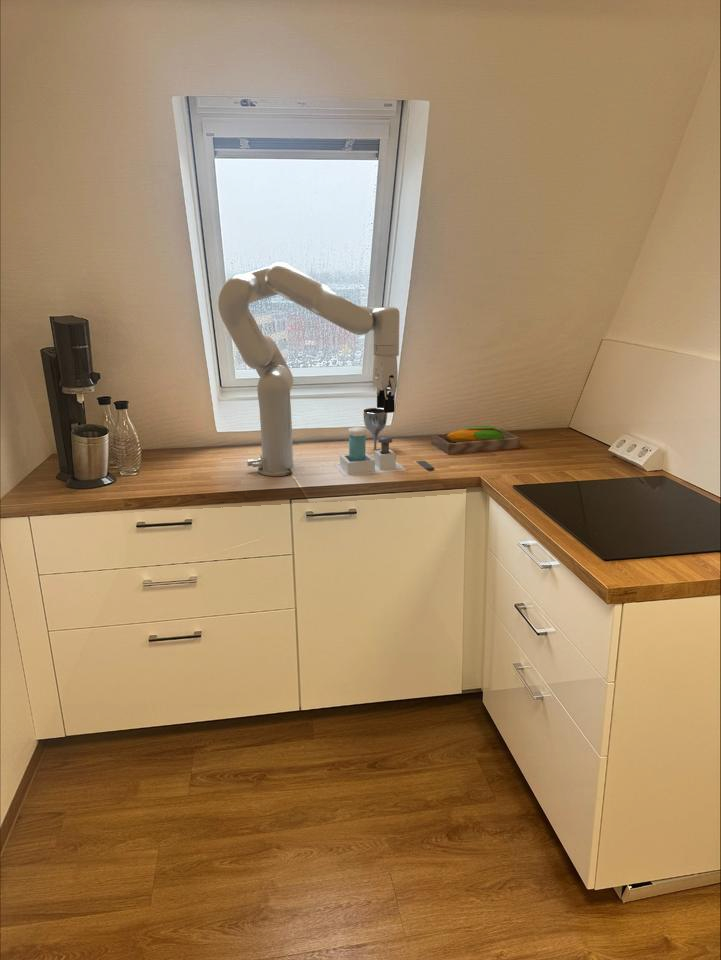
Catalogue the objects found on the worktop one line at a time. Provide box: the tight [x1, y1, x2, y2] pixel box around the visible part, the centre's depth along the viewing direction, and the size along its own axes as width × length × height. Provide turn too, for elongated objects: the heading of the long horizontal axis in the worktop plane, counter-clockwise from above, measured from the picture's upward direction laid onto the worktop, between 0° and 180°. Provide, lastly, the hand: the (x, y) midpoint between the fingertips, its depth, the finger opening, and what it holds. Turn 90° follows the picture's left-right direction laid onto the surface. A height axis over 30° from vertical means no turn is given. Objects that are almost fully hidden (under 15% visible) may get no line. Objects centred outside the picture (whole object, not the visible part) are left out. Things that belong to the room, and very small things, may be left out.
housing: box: [333, 448, 407, 477], centre depth 207 cm, size 20×12×6 cm, turn 107°
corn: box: [447, 425, 504, 443], centre depth 235 cm, size 7×8×20 cm
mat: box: [414, 460, 435, 471], centre depth 212 cm, size 8×8×1 cm
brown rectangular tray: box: [431, 428, 522, 455], centre depth 236 cm, size 27×14×4 cm, turn 107°
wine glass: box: [363, 407, 388, 451], centre depth 225 cm, size 8×8×15 cm
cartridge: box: [347, 426, 367, 462], centre depth 205 cm, size 5×5×12 cm
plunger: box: [377, 435, 393, 454], centre depth 207 cm, size 4×4×6 cm
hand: (385, 409), depth 203 cm, fingers open, 5 cm apart
